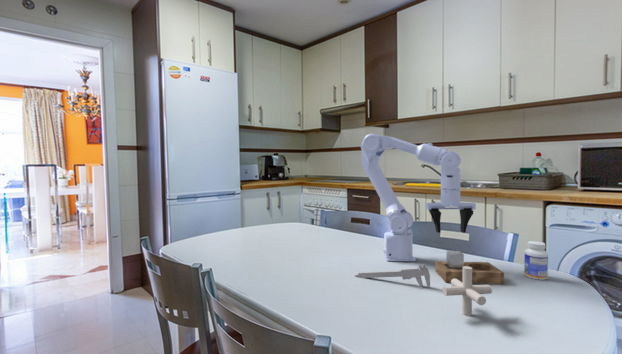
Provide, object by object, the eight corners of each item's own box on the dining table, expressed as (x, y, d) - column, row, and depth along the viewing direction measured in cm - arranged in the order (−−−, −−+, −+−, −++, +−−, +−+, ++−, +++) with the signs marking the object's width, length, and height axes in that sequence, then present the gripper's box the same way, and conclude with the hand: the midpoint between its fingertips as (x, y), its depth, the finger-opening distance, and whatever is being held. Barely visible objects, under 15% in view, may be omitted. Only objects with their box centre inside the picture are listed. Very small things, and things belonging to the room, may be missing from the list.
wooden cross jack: (433, 304, 72) (433, 261, 71) (475, 302, 73) (475, 259, 72) (457, 327, 62) (457, 276, 61) (505, 324, 63) (505, 274, 62)
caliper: (429, 287, 82) (430, 264, 82) (429, 289, 81) (429, 265, 81) (355, 276, 91) (355, 254, 91) (354, 277, 91) (354, 255, 90)
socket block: (445, 282, 85) (445, 271, 85) (435, 271, 94) (435, 261, 94) (504, 283, 84) (504, 272, 84) (488, 272, 93) (488, 262, 93)
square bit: (450, 278, 88) (450, 254, 88) (446, 274, 91) (446, 250, 91) (463, 279, 87) (463, 254, 87) (458, 274, 91) (459, 250, 91)
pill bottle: (524, 272, 92) (524, 239, 92) (547, 275, 89) (548, 241, 89) (523, 277, 88) (524, 243, 88) (548, 281, 85) (548, 246, 84)
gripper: (430, 190, 96) (430, 234, 97) (480, 190, 95) (479, 234, 95) (424, 188, 103) (424, 230, 104) (470, 188, 102) (470, 230, 102)
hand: (450, 232), depth 100 cm, fingers open, 7 cm apart
